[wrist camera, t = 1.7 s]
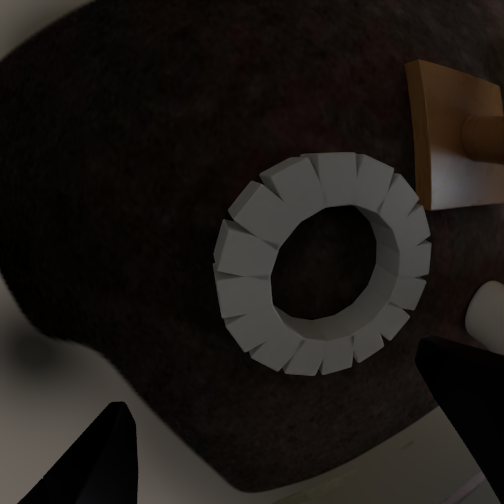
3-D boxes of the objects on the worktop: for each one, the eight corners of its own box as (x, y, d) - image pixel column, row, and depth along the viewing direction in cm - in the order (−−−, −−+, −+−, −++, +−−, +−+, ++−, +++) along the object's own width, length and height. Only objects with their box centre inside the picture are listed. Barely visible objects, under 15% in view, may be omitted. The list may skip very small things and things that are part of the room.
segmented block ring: (406, 151, 16) (433, 153, 13) (398, 327, 19) (417, 344, 17) (199, 164, 14) (199, 164, 12) (230, 368, 18) (235, 394, 15)
